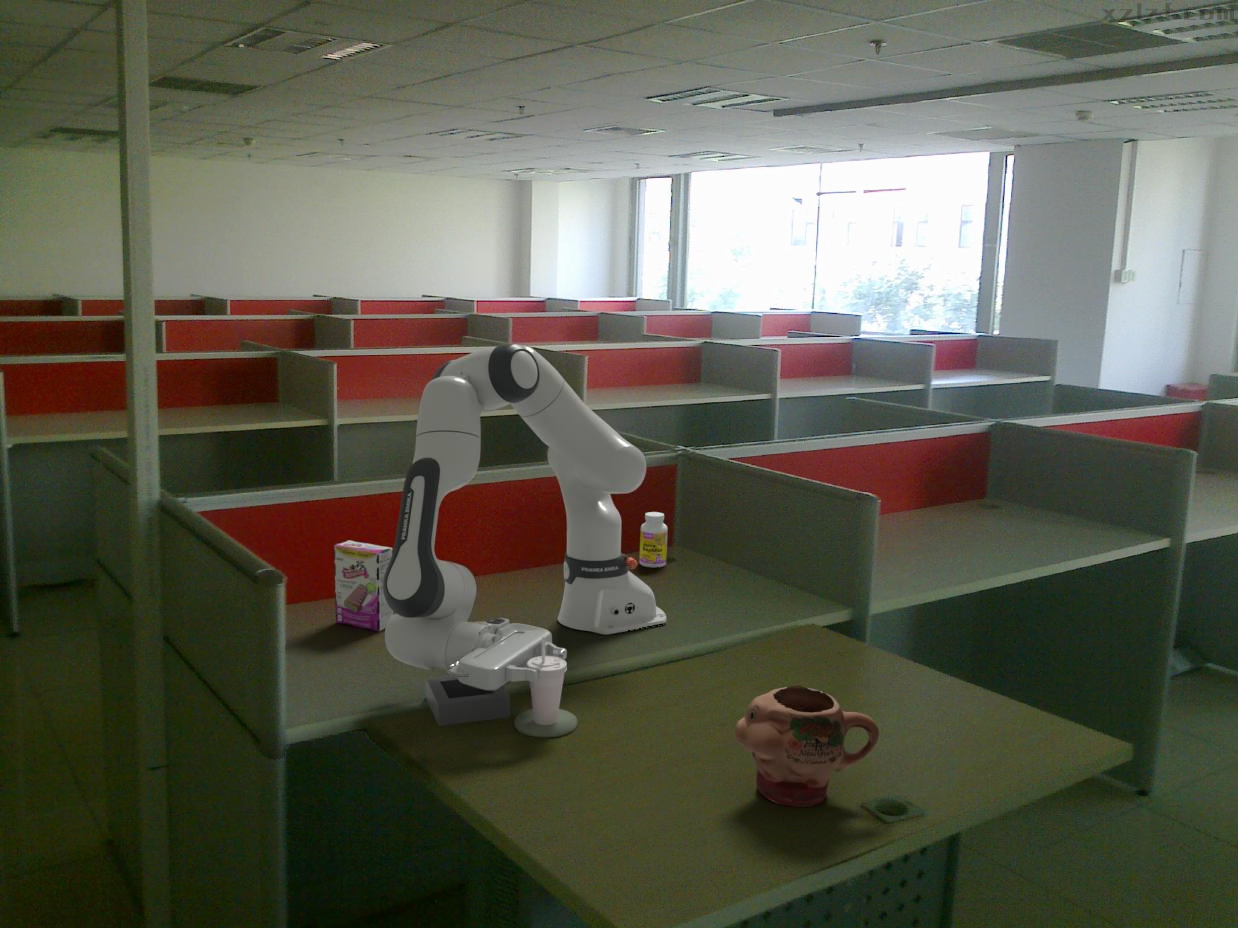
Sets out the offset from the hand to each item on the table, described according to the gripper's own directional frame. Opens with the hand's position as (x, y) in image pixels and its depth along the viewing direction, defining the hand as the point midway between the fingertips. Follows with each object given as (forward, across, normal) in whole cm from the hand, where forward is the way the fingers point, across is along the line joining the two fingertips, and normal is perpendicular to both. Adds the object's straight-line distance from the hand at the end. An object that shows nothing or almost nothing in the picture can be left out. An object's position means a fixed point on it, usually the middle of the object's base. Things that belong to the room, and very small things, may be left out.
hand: (551, 665), depth 168 cm
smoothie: (-1, 0, +10) cm, 10 cm away
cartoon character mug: (+42, -4, +10) cm, 43 cm away
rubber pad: (-1, 0, +10) cm, 10 cm away
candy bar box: (-55, +26, +10) cm, 62 cm away
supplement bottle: (-20, +95, +10) cm, 98 cm away
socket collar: (-15, 0, +10) cm, 18 cm away
